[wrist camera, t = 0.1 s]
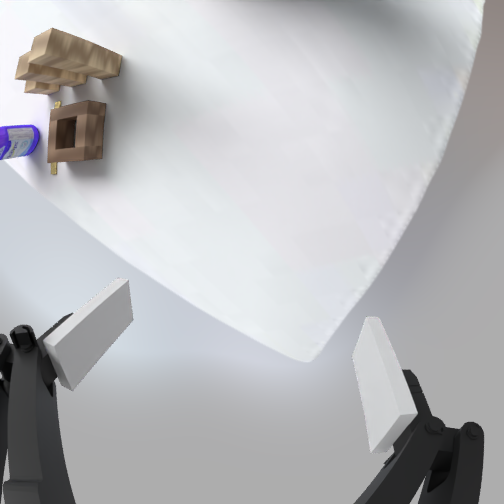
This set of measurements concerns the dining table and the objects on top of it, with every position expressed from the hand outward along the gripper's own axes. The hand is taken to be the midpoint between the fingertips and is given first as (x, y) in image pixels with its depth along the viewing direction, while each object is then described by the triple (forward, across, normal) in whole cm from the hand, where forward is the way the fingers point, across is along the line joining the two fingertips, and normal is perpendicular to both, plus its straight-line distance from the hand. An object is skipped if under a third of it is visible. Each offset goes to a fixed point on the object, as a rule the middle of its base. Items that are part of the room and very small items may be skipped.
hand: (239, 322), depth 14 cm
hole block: (+28, -35, +12) cm, 47 cm away
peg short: (+28, -46, +24) cm, 59 cm away
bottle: (+28, -53, +12) cm, 61 cm away
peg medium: (+28, -38, +24) cm, 53 cm away
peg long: (+28, -30, +24) cm, 48 cm away
